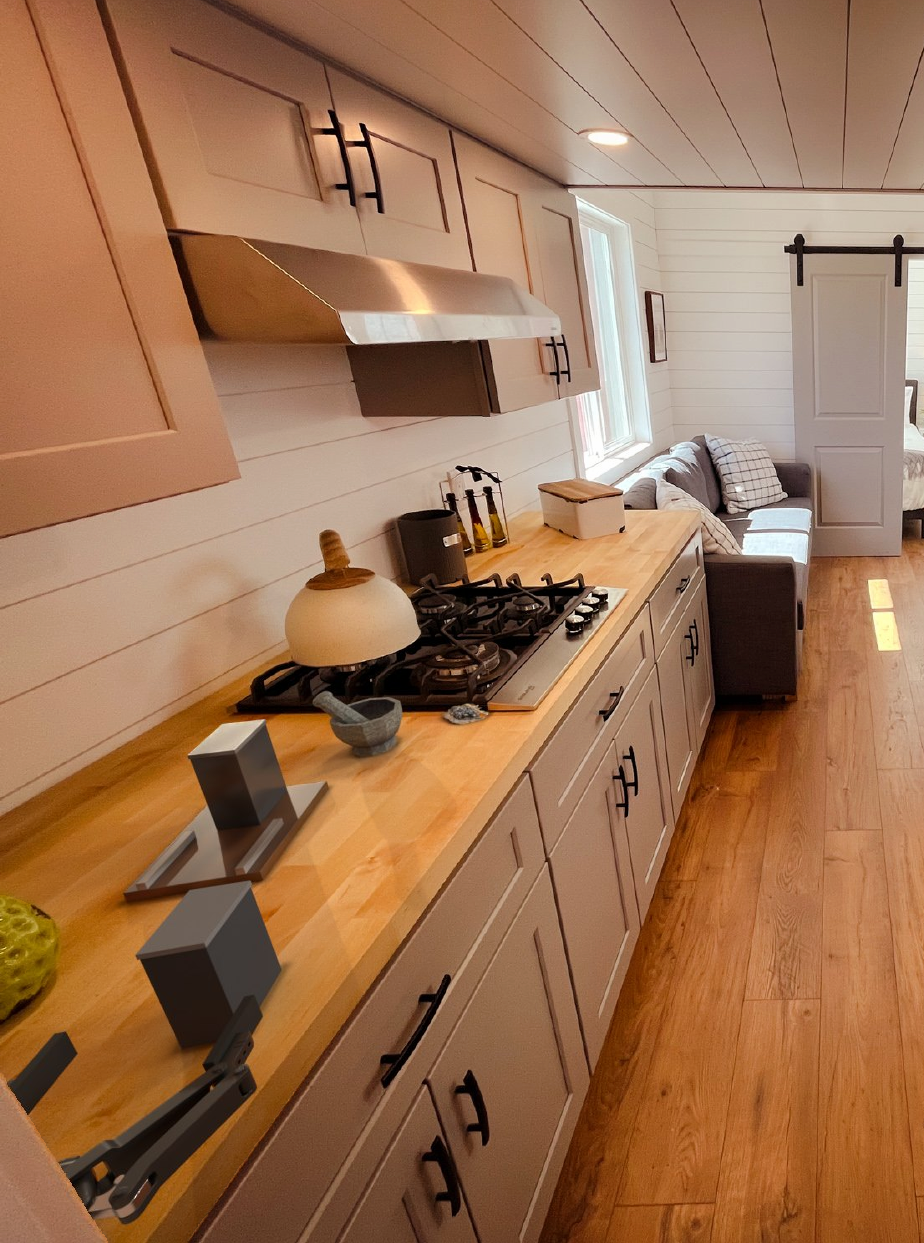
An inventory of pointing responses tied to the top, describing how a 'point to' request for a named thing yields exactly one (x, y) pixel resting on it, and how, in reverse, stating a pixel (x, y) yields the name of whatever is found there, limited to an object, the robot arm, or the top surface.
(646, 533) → the top surface
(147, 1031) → the top surface
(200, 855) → the pad base
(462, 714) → the blueberries
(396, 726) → the mortar and pestle
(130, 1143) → the robot arm
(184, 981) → the loose pad
